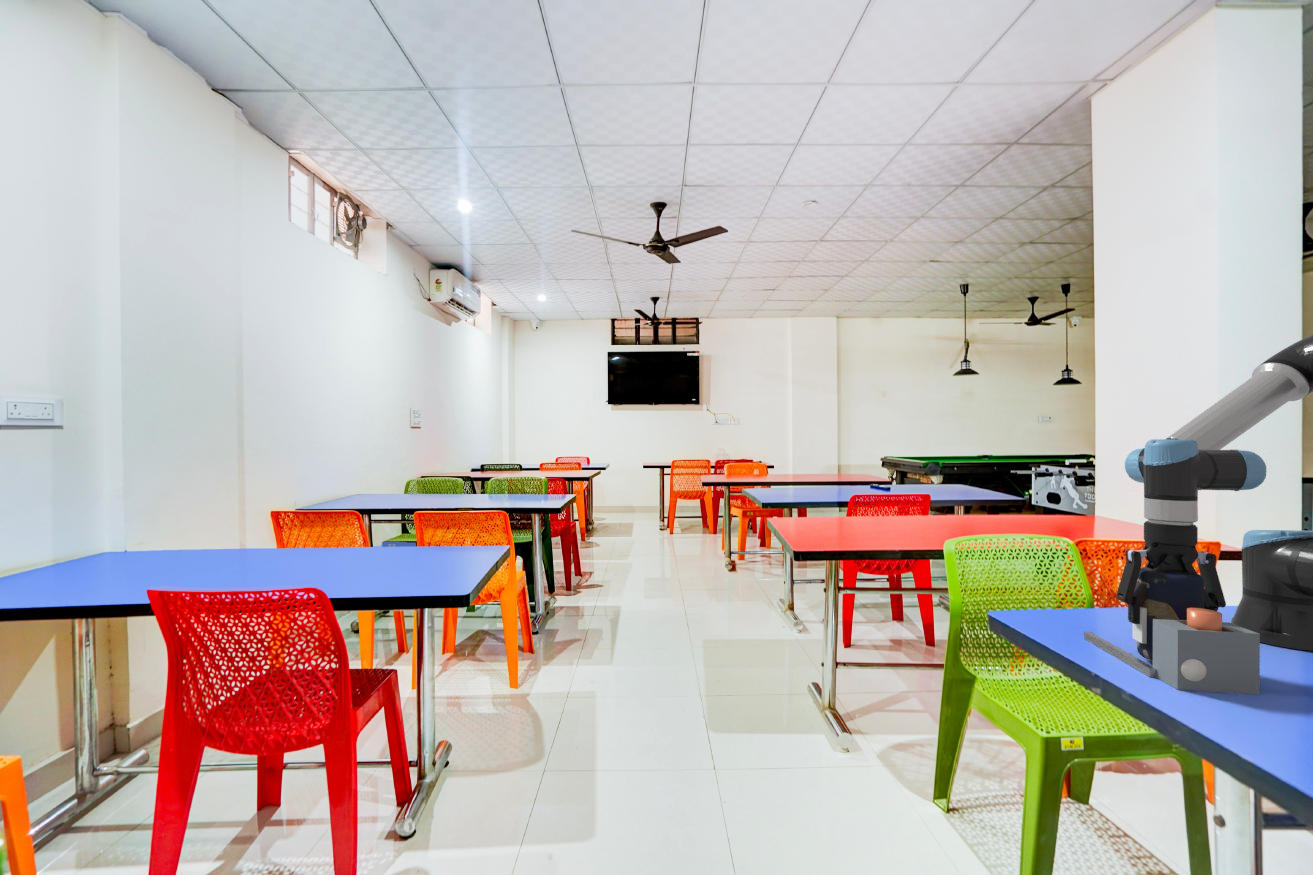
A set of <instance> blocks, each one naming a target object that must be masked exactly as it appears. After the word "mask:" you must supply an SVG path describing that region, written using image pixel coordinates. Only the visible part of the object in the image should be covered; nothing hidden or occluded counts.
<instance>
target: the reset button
mask: <svg viewBox="0 0 1313 875" xmlns="http://www.w3.org/2000/svg"><path fill="white" fill-rule="evenodd" d="M1222 622H1223V613H1221V612H1220V611H1213V610H1209V609H1202V608H1187V626H1190V627H1192V628H1194V629H1197V630H1203V631H1222Z"/></svg>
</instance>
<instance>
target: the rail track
mask: <svg viewBox="0 0 1313 875" xmlns="http://www.w3.org/2000/svg"><path fill="white" fill-rule="evenodd" d="M1083 639H1084V640H1085V641H1087V642H1088V643H1090V644H1092V645H1094V646H1096V647H1097V648H1099V649H1101V650H1102V651H1104V652H1106V653H1108V654H1109V655H1111V656H1113V657H1114V658H1116V659H1117V660H1119V661H1121V662H1123V663H1124V664H1126V665H1128V666H1130V667H1132V668H1133V669H1135V670H1136V671H1138V672H1140V673H1142V674H1144V675H1145V676H1147V677H1149V678H1156V679H1158V678H1157V669H1156V668H1154V667H1153V665H1150V664H1149V663H1147V662H1145V661H1143V660H1141V659H1140V658H1138V657H1136V656H1134V655H1133V654H1131V653H1130V652H1127V651H1125V650H1123V649H1122V648H1120V647H1119V646H1117V645H1114V644H1113V643H1111V642H1109V640H1108V641H1107V640H1106V639H1104V638H1102V637H1100V636H1098V635H1096V634H1095V633H1093V632H1091V631H1083Z"/></svg>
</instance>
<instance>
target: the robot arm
mask: <svg viewBox="0 0 1313 875" xmlns="http://www.w3.org/2000/svg"><path fill="white" fill-rule="evenodd" d="M1311 393H1313V335H1309V336H1307V337H1305V338H1302V339H1300V340H1298V341H1296V342H1294V343H1292V344H1290V345H1288V346H1287V347H1285V348H1284V349H1282V350H1280V351H1279V352H1277V353H1275V354H1273V356H1271V357H1269V358H1267V359H1266V360H1264V362H1262V363H1260V364H1259V365H1258V366H1256V367H1255V368H1254V369H1253V371H1252V373H1251V377H1250V378H1249V379H1248V380H1246V381H1245V382H1243V383H1242V384H1240V385H1239V386H1238V387H1236V388H1235V389H1234V390H1232V391H1231V392H1229V393H1228V394H1226V395H1225V396H1223V397H1222V398H1221V399H1219V400H1218V401H1217V402H1215V403H1214V404H1212V405H1211V406H1210V407H1208V408H1206V409H1205V410H1204V411H1202V412H1201V413H1200V414H1198V415H1196V416H1195V417H1194V418H1193V419H1192V420H1190V421H1189V422H1187V423H1186V424H1185V425H1183V426H1182V427H1180V428H1179V429H1178V430H1176V431H1175V432H1174V433H1172V434H1170V435H1169V436H1168V437H1166V438H1165V439H1161V438H1160V439H1159V438H1157V439H1156V438H1155V439H1154V438H1153V439H1150V440H1147V441H1146V442H1145V445H1144V447H1143V448H1137V449H1134V450H1132V451H1131V452H1129V453H1128V455H1127V457H1126V458H1125V461H1124V469H1125V472H1126V474H1127V475H1128V477H1129V478H1130V479H1131V480H1133V481H1134V482H1137V483H1141V484H1143V497H1144V498H1143V500H1144V501H1143V503H1144V504H1143V506H1144V507H1143V518H1144V519H1146V521H1145V522H1143V540H1144V543H1145V544H1144V546H1143V548H1142V549H1140V550H1139V549H1138V550H1135V549H1129V548H1127V549H1125V553H1124V554H1125V565H1124V566H1123V567H1124V568H1123V571H1122V574H1121V577H1120V581H1119V584H1118V585H1119V586H1118V588H1117V591H1116V594H1115V595H1116V596H1115V598H1116V600H1118V601H1120V602H1123V603H1124V604H1126V605H1127V620H1128V622H1129V623H1131V624H1132V632H1131V633H1132V634H1131V637H1132V640H1135V641H1136V642H1137V641H1138V642H1140V643H1143V644H1147V608H1144V607H1142V604H1143V603H1144V601H1145V600H1146V598H1147V584H1143V583H1140V582H1139V581H1138V582H1137V580H1138V576H1139V573H1140V569H1141V568H1143V567H1142V563H1143V562H1144V561H1145V559H1146V560H1147V562H1146V564H1145V565H1144V568H1143V569H1146V570H1149V571H1152V572H1155V573H1164V572H1185V571H1186V572H1187V573H1191V574H1198V572H1197V570H1196V569H1195V567H1194V565H1193V564H1194V563H1195V562H1197V564H1198V565H1197V566H1198V569H1199V570H1198V571H1199V573H1200V574H1199V575H1200V576H1201V577H1202V578H1203V580H1204V609H1209V610H1213V611H1217V612H1219V608H1225V607H1226V606H1227V602H1226V599H1225V595H1224V592H1223V589H1222V584H1221V582H1220V578H1219V574H1218V570H1217V567H1216V566H1217V555H1216V554H1215V553H1211V552H1207V551H1198V550H1197V545H1198V543H1199V542H1198V538H1199V537H1198V534H1199V533H1198V526H1197V525H1196V524H1194V523H1197V522H1198V520H1199V512H1198V511H1199V510H1198V508H1199V506H1198V500H1199V499H1198V498H1199V497H1198V495H1199V494H1198V493H1199V491H1234V492H1238V491H1239V492H1240V491H1248V490H1249V491H1250V490H1253V489H1255V488H1258V487H1259V486H1260V485H1262V484H1263V482H1264V481H1265V479H1266V478H1267V471H1268V470H1267V465H1266V464H1267V463H1265V460H1264V459H1263V458H1262V457H1261V456H1260V455H1259V454H1257V453H1255V452H1253V451H1250V450H1239V449H1223V448H1224V447H1227V445H1229V444H1230V443H1231V442H1233V441H1234V440H1235V441H1236V439H1237V438H1239V437H1240V436H1241V435H1244V434H1245V433H1246V432H1247V431H1248V430H1250V429H1252V428H1253V427H1254V426H1256V425H1257V424H1258V423H1260V422H1261V421H1262V420H1264V419H1266V418H1267V417H1269V416H1270V415H1271V414H1273V413H1274V412H1275V411H1277V410H1278V409H1280V408H1281V407H1282V406H1284V405H1286V404H1287V403H1288V402H1296V401H1299V400H1302V399H1303V398H1305V397H1306V396H1308V395H1309V394H1311ZM1154 569H1155V570H1154ZM1241 575H1242V577H1241V578H1242V581H1241V582H1242V585H1241V586H1242V594H1241V595H1242V596H1241V599H1240V602H1239V603H1238V605H1237V608H1236V610H1235V613H1234V615H1233V617H1232V618H1231V619H1230V620H1231V621H1230V623H1232V624H1235V625H1238V626H1240V627H1243V628H1245V629H1248V630H1251V631H1253V632H1256V633H1259V634H1260V643H1263V644H1267V645H1271V646H1274V647H1275V646H1276V647H1282V648H1287V649H1288V648H1289V649H1293V650H1294V649H1295V650H1299V651H1301V650H1302V651H1312V652H1313V530H1294V529H1293V530H1292V529H1291V530H1290V529H1289V530H1287V529H1285V530H1284V529H1275V530H1274V529H1253V530H1248V531H1246V532H1245V533H1244V535H1243V538H1242V547H1241Z"/></svg>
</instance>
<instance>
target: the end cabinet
mask: <svg viewBox="0 0 1313 875" xmlns="http://www.w3.org/2000/svg"><path fill="white" fill-rule="evenodd" d="M1260 651H1261V642H1260V634H1259V633H1256V632H1253V631H1251V630H1248V629H1245V628H1243V627H1240V626H1238V625H1235V624H1232V623H1231V622H1230V621H1229V622H1227V621H1222V631H1203V630H1197V629H1194V628H1192V627H1190V626H1187V620H1166V619H1153V661H1152V666H1153V667H1154V668H1156V669H1157V678H1156V679H1158V680H1160V681H1162V682H1163V683H1166V685H1169V686H1170V687H1171V688H1173V689H1175V690H1179V691H1194V692H1195V691H1196V692H1206V693H1207V692H1210V693H1222V694H1223V693H1225V694H1238V695H1239V694H1240V695H1241V694H1243V695H1257V696H1259V695H1260V683H1261V682H1260V678H1261V677H1260V676H1261V675H1260V673H1261V672H1260V664H1261V661H1260V660H1261V659H1260V657H1261V652H1260Z"/></svg>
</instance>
